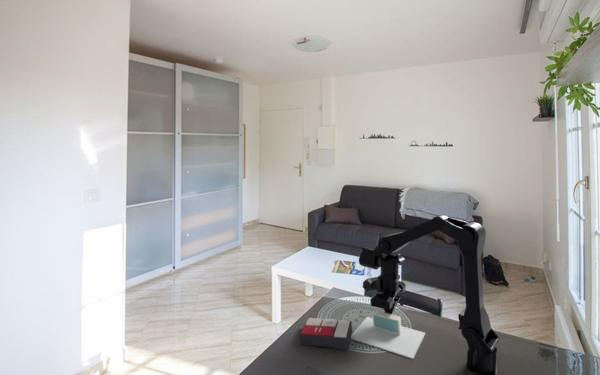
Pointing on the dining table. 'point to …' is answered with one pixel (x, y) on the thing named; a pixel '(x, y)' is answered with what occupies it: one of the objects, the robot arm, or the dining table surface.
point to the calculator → (327, 333)
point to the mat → (389, 338)
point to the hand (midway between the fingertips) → (388, 318)
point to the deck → (387, 322)
